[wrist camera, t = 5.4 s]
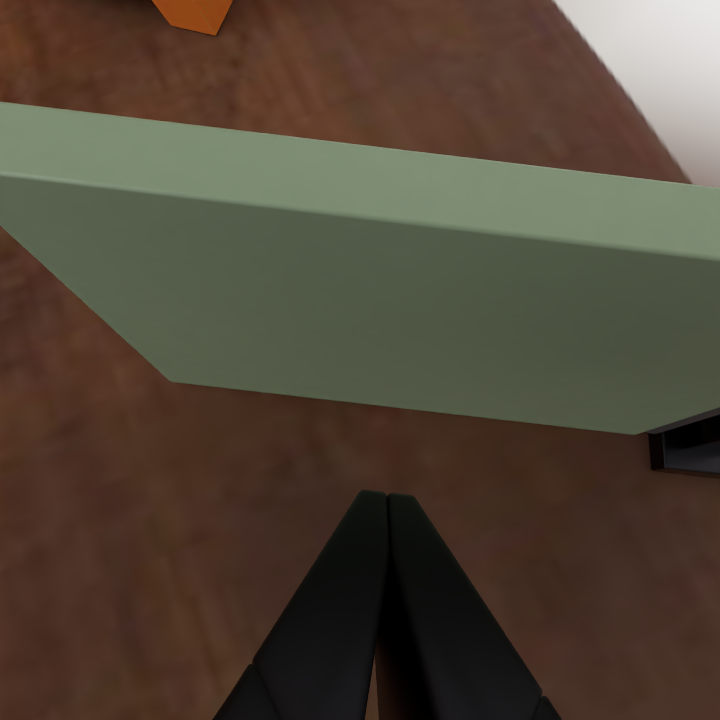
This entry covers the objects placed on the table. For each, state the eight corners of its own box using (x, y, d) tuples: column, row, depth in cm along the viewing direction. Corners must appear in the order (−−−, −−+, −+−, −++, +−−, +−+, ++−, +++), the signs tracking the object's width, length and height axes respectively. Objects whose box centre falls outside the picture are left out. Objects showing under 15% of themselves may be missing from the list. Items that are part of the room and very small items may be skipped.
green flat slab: (657, 349, 17) (1051, 125, 8) (666, 439, 16) (1130, 308, 7) (190, 294, 17) (11, -1, 8) (169, 382, 16) (-69, 165, 7)
